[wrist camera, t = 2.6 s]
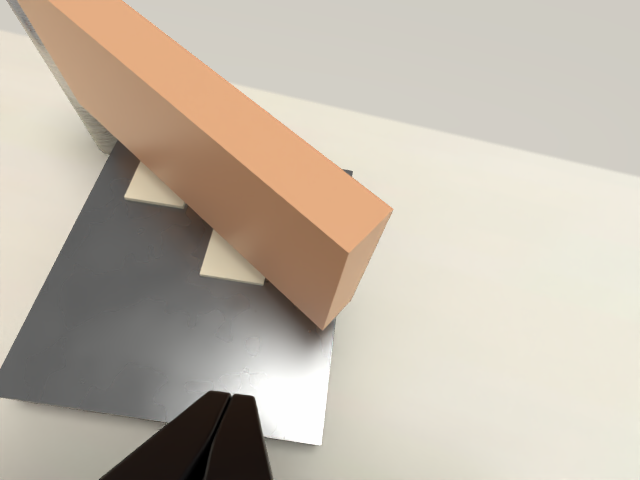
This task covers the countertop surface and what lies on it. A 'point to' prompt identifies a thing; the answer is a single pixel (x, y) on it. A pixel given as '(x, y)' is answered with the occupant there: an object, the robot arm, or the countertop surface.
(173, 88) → the peach rectangular plank
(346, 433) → the countertop surface
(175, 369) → the plate
